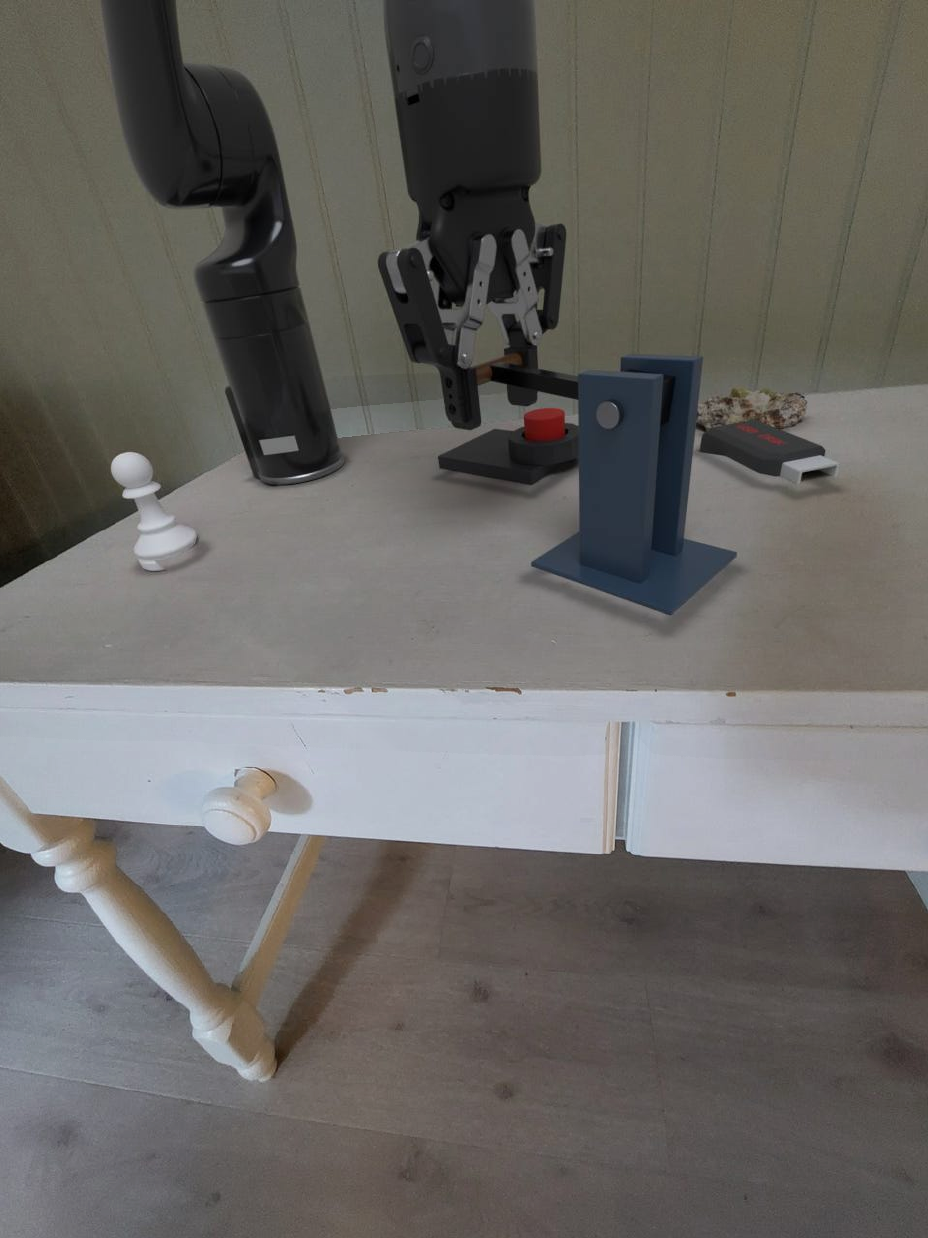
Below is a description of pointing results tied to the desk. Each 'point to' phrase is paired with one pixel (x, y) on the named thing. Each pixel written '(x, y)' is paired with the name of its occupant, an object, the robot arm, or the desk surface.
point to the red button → (544, 424)
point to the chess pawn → (150, 513)
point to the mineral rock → (752, 408)
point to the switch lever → (552, 380)
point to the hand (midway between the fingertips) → (495, 414)
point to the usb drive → (767, 450)
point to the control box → (512, 455)
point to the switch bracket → (637, 487)
